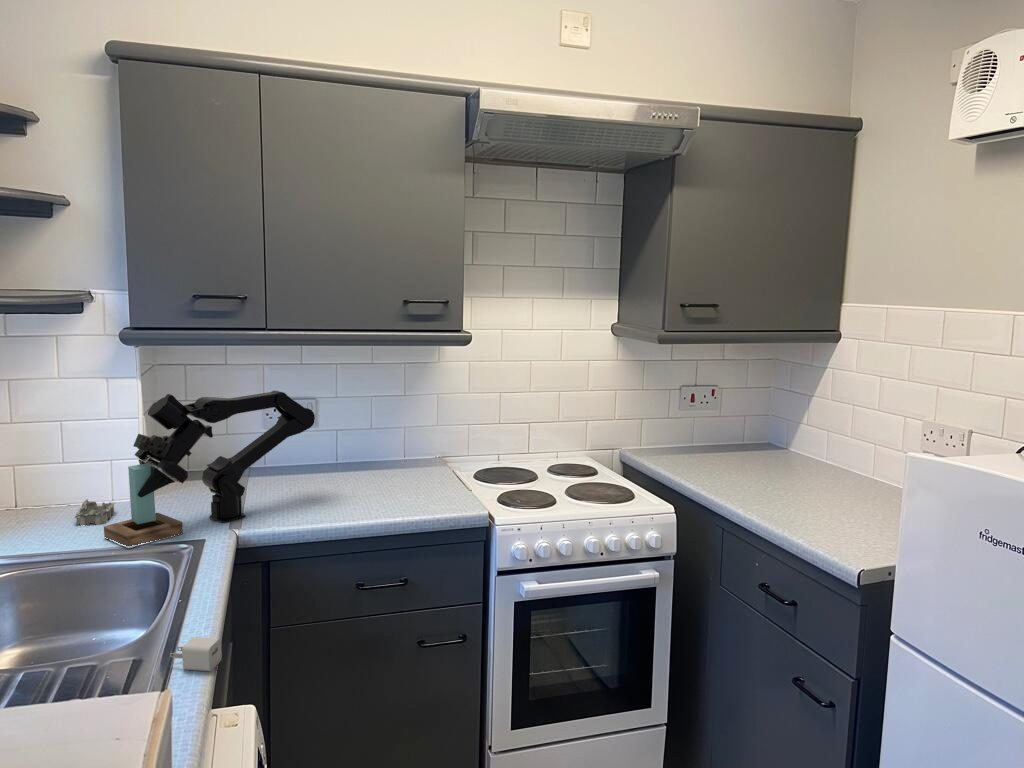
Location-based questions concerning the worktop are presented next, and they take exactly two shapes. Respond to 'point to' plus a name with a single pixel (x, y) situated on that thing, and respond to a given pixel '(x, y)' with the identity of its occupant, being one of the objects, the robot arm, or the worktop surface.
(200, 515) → the worktop surface
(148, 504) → the teal post
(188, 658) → the usb wall charger
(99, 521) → the miniature castle
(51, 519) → the worktop surface
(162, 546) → the worktop surface
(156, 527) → the walnut box
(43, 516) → the worktop surface
